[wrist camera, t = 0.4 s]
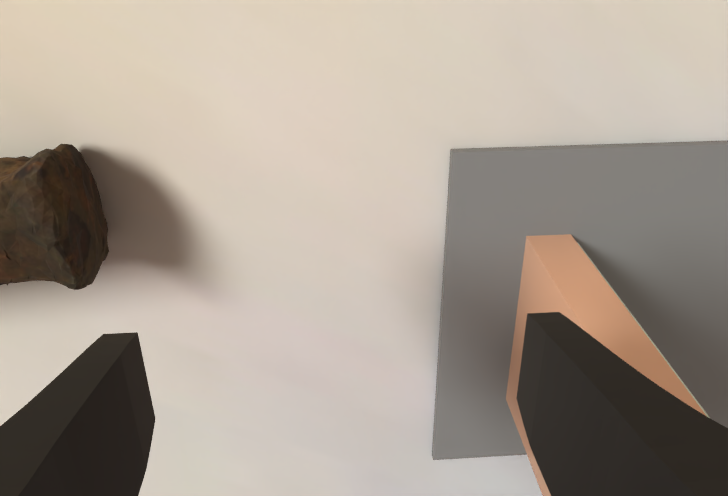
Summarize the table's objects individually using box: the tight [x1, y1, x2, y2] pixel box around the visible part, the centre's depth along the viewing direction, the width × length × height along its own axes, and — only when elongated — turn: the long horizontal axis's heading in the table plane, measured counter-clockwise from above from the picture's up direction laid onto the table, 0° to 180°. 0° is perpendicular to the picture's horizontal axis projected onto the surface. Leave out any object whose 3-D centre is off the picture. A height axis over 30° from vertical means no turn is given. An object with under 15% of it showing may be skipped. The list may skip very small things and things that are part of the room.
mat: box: [432, 141, 728, 460], centre depth 24 cm, size 13×14×1 cm
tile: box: [506, 234, 710, 496], centre depth 20 cm, size 7×2×9 cm, turn 0°
